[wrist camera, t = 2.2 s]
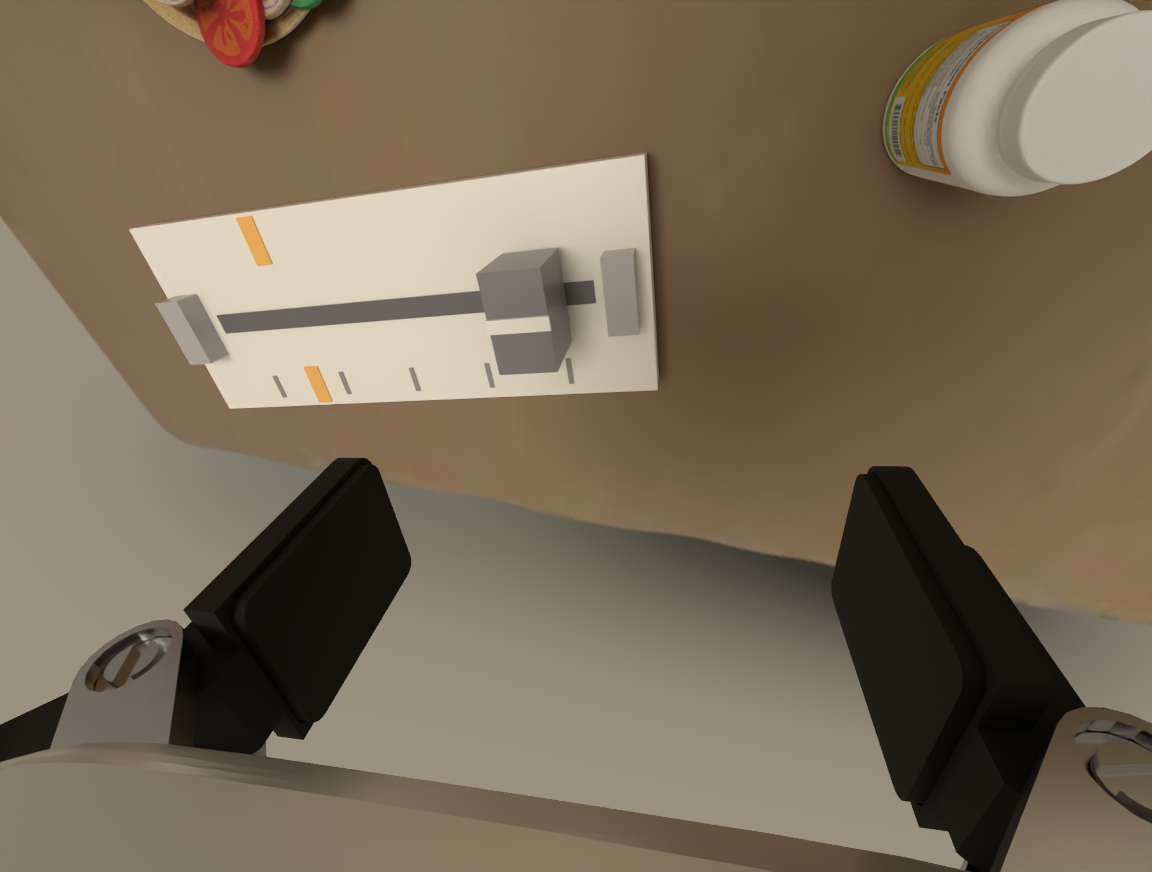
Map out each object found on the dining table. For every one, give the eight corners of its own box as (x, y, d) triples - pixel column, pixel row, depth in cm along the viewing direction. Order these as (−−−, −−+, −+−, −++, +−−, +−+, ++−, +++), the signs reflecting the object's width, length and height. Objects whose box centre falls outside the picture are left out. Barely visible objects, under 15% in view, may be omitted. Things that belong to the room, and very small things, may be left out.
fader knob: (559, 247, 25) (540, 268, 22) (573, 341, 28) (557, 373, 24) (500, 253, 26) (473, 274, 22) (519, 344, 28) (497, 376, 25)
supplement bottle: (1056, 79, 21) (1299, 57, 13) (939, 201, 24) (1076, 246, 15) (959, -4, 20) (1152, -85, 12) (851, 133, 23) (946, 143, 15)
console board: (646, 152, 24) (642, 156, 22) (658, 375, 31) (656, 402, 28) (158, 223, 31) (104, 234, 28) (249, 395, 37) (213, 419, 34)
